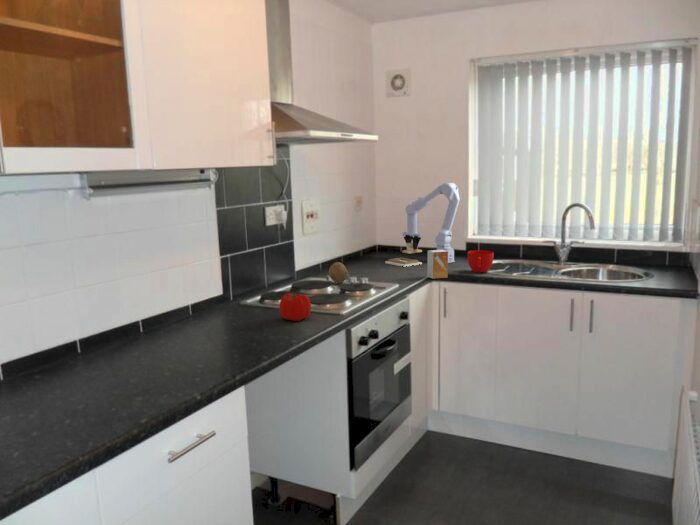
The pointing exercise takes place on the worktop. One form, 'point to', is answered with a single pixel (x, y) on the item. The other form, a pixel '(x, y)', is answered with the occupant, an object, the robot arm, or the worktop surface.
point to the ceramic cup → (480, 260)
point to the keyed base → (403, 262)
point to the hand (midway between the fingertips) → (412, 248)
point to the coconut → (338, 272)
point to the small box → (437, 264)
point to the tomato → (295, 307)
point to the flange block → (411, 249)
